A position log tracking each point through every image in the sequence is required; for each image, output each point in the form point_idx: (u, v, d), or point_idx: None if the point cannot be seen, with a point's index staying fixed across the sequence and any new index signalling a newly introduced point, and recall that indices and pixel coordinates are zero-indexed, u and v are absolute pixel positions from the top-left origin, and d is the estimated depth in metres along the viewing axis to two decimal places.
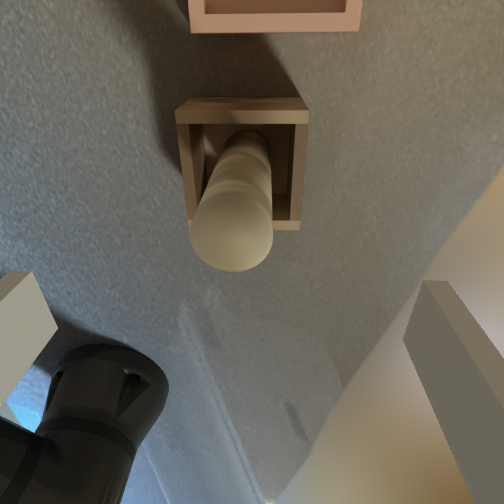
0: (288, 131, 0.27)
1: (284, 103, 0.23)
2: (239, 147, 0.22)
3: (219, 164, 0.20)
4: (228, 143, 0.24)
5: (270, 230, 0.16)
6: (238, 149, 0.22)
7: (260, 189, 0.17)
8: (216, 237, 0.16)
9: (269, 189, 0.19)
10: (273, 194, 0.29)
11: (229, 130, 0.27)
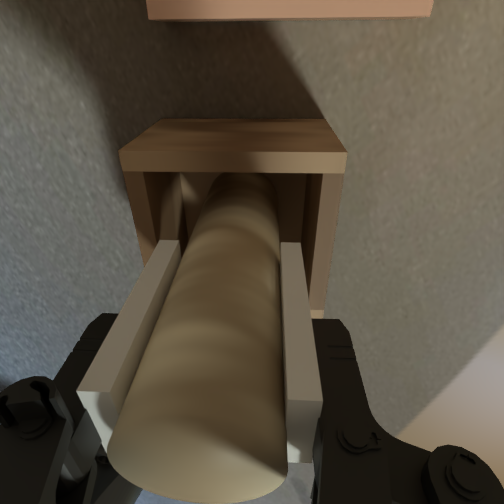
0: None
1: (301, 133, 0.15)
2: (228, 210, 0.13)
3: (191, 250, 0.12)
4: (213, 194, 0.16)
5: (283, 460, 0.07)
6: (226, 216, 0.13)
7: (261, 335, 0.09)
8: (166, 464, 0.07)
9: (278, 308, 0.10)
10: None
11: None
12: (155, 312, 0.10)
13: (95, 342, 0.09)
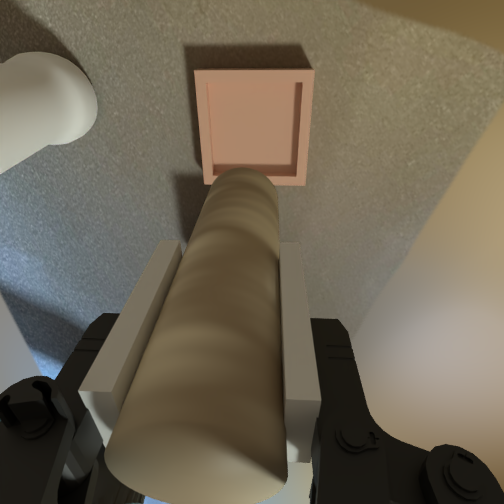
0: None
1: None
2: (228, 211, 0.13)
3: (191, 251, 0.12)
4: (213, 194, 0.16)
5: (283, 466, 0.07)
6: (226, 217, 0.13)
7: (260, 338, 0.08)
8: (165, 469, 0.07)
9: (278, 311, 0.10)
10: None
11: None
12: (156, 312, 0.10)
13: (96, 342, 0.09)
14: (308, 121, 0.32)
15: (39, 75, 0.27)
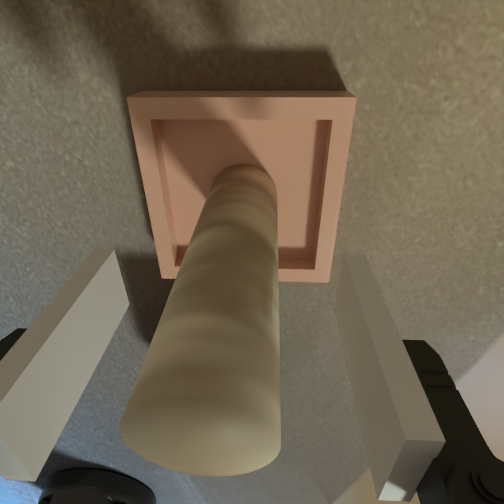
0: None
1: None
2: (229, 208, 0.14)
3: (194, 245, 0.13)
4: (215, 190, 0.17)
5: (277, 437, 0.08)
6: (227, 213, 0.14)
7: (258, 325, 0.09)
8: (172, 439, 0.08)
9: (275, 301, 0.11)
10: None
11: None
12: (72, 328, 0.10)
13: (1, 361, 0.09)
14: (339, 186, 0.18)
15: None
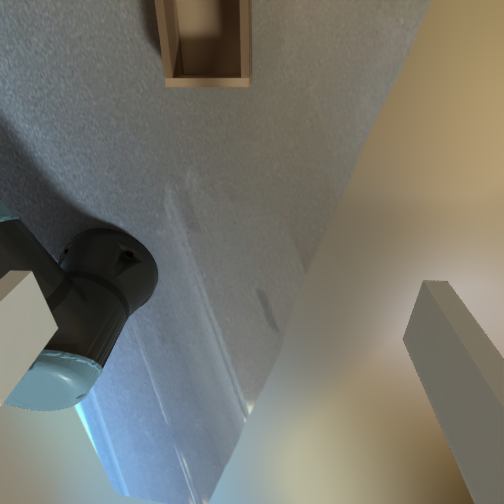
0: None
1: None
2: None
3: None
4: None
5: None
6: None
7: None
8: None
9: None
10: (234, 73, 0.38)
11: (197, 15, 0.35)
12: None
13: None
14: None
15: None
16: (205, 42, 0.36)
